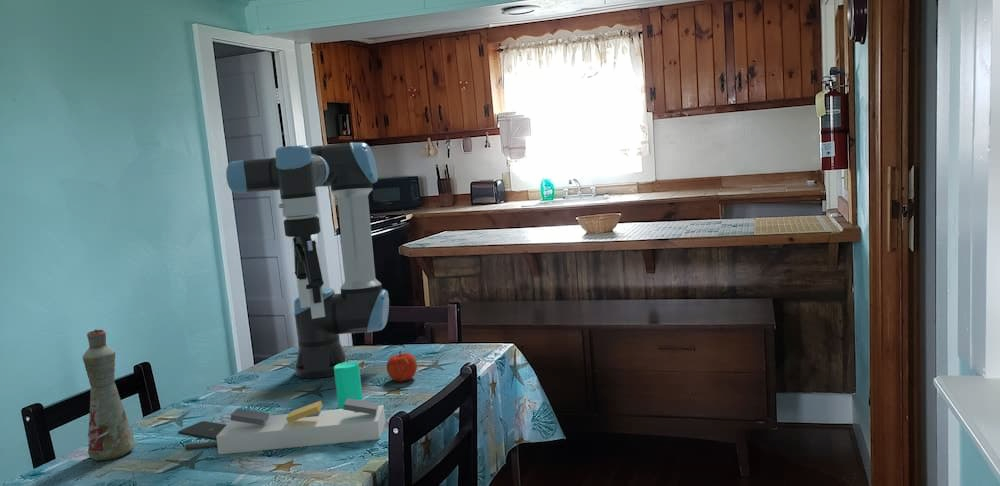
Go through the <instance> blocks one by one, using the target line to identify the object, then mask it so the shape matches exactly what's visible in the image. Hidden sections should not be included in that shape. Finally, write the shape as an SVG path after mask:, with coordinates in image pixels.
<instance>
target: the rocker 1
mask: <svg viewBox="0 0 1000 486" xmlns="http://www.w3.org/2000/svg"><path fill="white" fill-rule="evenodd" d="M269 416H270V413H268V412H262V411H256V410H249V409H244V408H242V409H241V408H236V409H235V410H234V411H233V412H232V413H231V414H230V421H231V420H232V421H238V422H244V423H251V424H257V425H264V424H265V423H266V421H267V420H268V419H269Z"/></svg>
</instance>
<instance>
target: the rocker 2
mask: <svg viewBox="0 0 1000 486" xmlns="http://www.w3.org/2000/svg"><path fill="white" fill-rule="evenodd" d="M322 407H324V406H323V403H322V400H319V401H315V402H313V403H310V404H307V405H305V406H301V407H299V408H296V409H294V410H291V411H290V412H289V413H288V414H289V415H288V416H287V417H286V419H287V422H288V423H290V422H292V421H295V420H298V419H301V418H304V417H306V416H309V415H312V414H315V413H317V412H319V411H321V409H322Z"/></svg>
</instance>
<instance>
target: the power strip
mask: <svg viewBox="0 0 1000 486" xmlns="http://www.w3.org/2000/svg"><path fill="white" fill-rule="evenodd" d="M288 415H289V413H286V414H285V413H283V414H282V413H281V414H273V415H269V419H268V420H267V421H266V423H265V424H264V425H257V424H251V423H244V422H238V421H232V420H230V421H229V422H228V423H227V424H226V426H225V427H224V428H223V430H222V431H221V432H220V433H219V434H218V435H217V436H216V438H217V440H215V441H207V442H197V443H187V444H185V445H184V449H186V450H189V449H191V450H192V449H201V448H203V449H204V448H211V447H212V448H213V447H217V451H218V455H226V454H237V453H247V452H249V453H250V452H258V451H260V452H261V451H268V450H269V451H270V450H279V449H280V450H282V449H291V448H299V447H300V448H301V447H311V446H320V445H331V444H333V445H334V444H343V443H353V442H362V441H363V442H364V441H375V440H380V439H381V437H382V434H383V431H384V428H385V424H386V416H385V415H386V414H385V407H384V404H379V406H378V410H377V413H376V415H374V414H367V413H361V412H355V411H349V410H343V409H338V408H336V409H328V410H327V409H326V410H320V411H319V412H317V413H315V414H312V415H309V416H306V417H304V418H301V419H298V420H295V421H292V422H290V423H288V422H287V419H286V417H287V416H288Z"/></svg>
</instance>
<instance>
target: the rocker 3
mask: <svg viewBox="0 0 1000 486" xmlns="http://www.w3.org/2000/svg"><path fill="white" fill-rule="evenodd" d="M379 405H380V402H375V401H374V402H373V401H368V400H363V401H362V400H356V399H350V398H347V400H346V402H345V403H344V408H343V410H349V411H355V412H361V413H367V414H374V415H376V413H377V410H378V406H379Z"/></svg>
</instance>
